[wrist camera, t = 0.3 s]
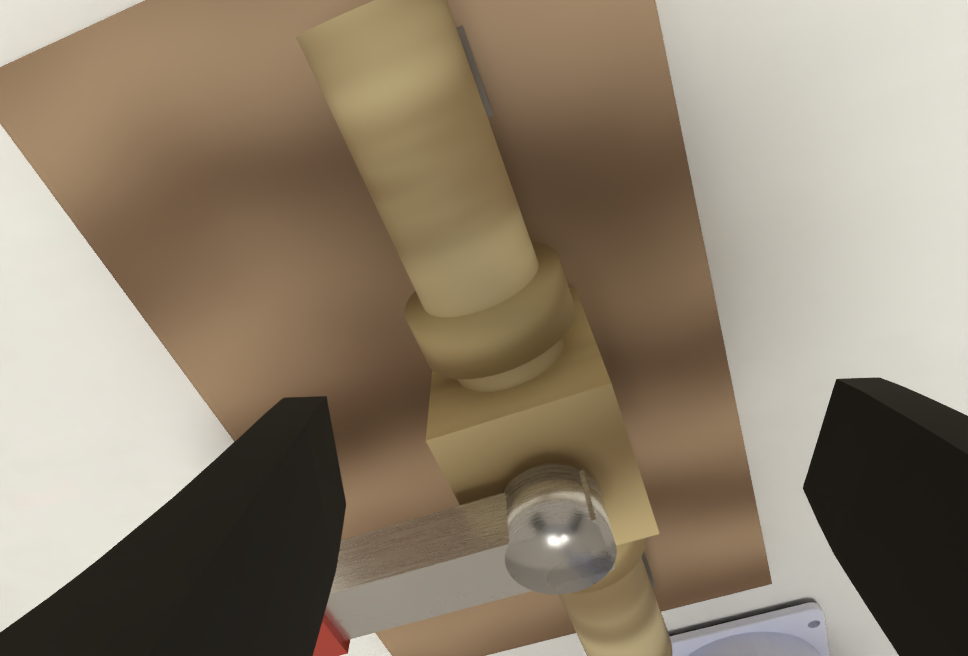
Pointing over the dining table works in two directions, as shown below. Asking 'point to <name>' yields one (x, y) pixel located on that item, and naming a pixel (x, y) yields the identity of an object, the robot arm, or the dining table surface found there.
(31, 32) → the dining table surface
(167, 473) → the dining table surface
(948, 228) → the dining table surface
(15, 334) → the dining table surface
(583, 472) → the valve lever
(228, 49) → the valve board
